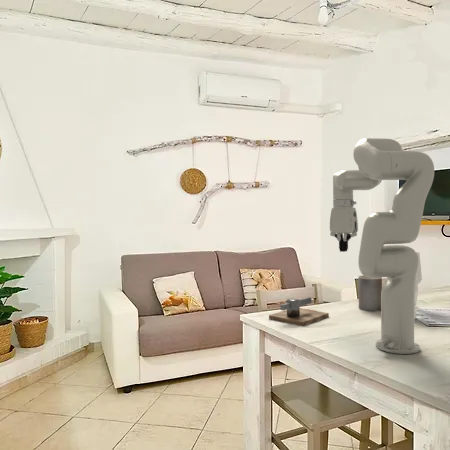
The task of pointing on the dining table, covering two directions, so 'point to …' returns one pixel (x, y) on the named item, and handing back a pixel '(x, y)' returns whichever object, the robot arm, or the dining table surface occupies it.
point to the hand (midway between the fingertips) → (343, 251)
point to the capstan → (295, 306)
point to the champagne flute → (418, 276)
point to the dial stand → (300, 317)
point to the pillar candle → (369, 293)
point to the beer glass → (415, 297)
